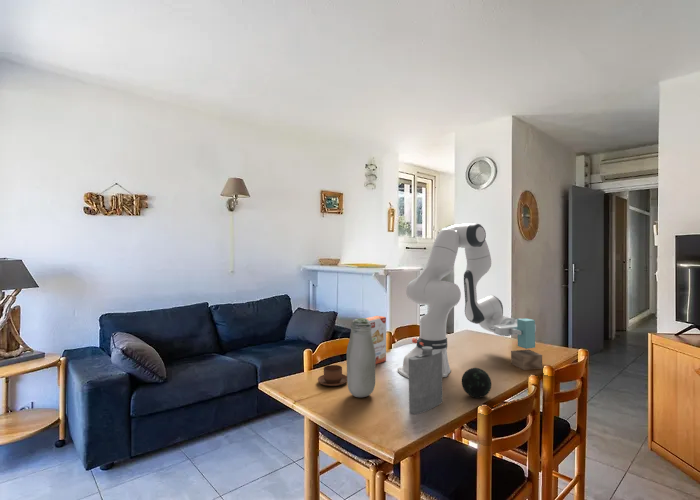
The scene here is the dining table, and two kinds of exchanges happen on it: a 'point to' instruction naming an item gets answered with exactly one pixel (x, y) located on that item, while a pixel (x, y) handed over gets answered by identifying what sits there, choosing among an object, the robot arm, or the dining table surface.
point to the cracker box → (379, 337)
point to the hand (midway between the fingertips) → (527, 332)
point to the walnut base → (526, 359)
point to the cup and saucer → (332, 376)
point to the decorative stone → (476, 382)
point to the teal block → (526, 333)
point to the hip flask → (425, 380)
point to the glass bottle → (361, 359)
